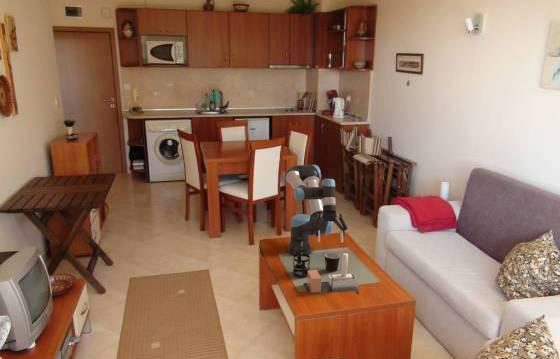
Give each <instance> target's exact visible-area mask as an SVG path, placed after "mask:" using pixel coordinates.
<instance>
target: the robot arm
mask: <svg viewBox="0 0 560 359" xmlns="http://www.w3.org/2000/svg"><path fill="white" fill-rule="evenodd" d="M284 178H285V181H286V182H287V184H290V186H291V187H292V188H293V198H294V200H296V201H306V200H307V201H308V203H309V207H310V212H311V214H310V215H309V214H307V213H305V214H304V213H300V214H296V215H293V216H292V217H291V219H290V225H289V226H290V239H289V243H288V245H287V253H288V252H289V253H288V254H290V255H292V256H294V255H296V254H295V253H294V247H296V246H307V247H309V248H310V250H309V253H306V252H302V254H307V255H310V254H311V253H312V246H311V243H310V236H315V237H317V243H320V242H321V236H325V235H330V234H331V233H332V232H333V225H334V224H335V225H336V226H337V227H338V229H339V230H340V231H339V234H340V236H339V237H340V238H339V239H340V244H341V243H344V237H345V234H346V233H345V231H347V230H348V229H349V228H348V226H347V224H346V222H345V221H344V219H343V215H342V213H337V206H336V204H337V202H336V201H337V200H336V181H335V179H333V178H324V179H322V174H321V169H320V167H319V166H318V164H317V165H316V164H296V165H292V166H290V167H289V168H288V169H287V170H286V171H285V173H284ZM321 180H322V181H321ZM320 182H321V186H319V183H320ZM339 221H340V222H339ZM300 237H304V238H306V240H303V242H301V240H299V239H298V238H300Z"/></svg>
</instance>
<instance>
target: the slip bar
mask: <svg viewBox="0 0 560 359" xmlns="http://www.w3.org/2000/svg"><path fill="white" fill-rule="evenodd" d="M348 265H349V254H348V253H346V252H345V253H344V252H343V253H342V256H341V273H339V274H328V276H327V282H328V283H329V285H331V286H332V280H347V279H353V277H352V275H351V274H352V273H348V267H349V266H348Z"/></svg>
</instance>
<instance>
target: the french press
mask: <svg viewBox="0 0 560 359" xmlns="http://www.w3.org/2000/svg"><path fill="white" fill-rule="evenodd" d="M298 239H299V240H301V242H303V240H306V238H304V237H300V238H298ZM309 250H310V248H309V247H307V246H296V247H294V253H295V254H296V255H293V263H292V264H293V265H292V268H293V269H292V270H293V271H292V275H293V277H295V278H298V279H306V278H307V274H308V270H310V261H311V257H310V254H308V255H307V254H302V252H306V253H309ZM303 257H305V258H307V259H303ZM300 272H301V274H298V273H300Z"/></svg>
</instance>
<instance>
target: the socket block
mask: <svg viewBox="0 0 560 359" xmlns="http://www.w3.org/2000/svg"><path fill="white" fill-rule="evenodd" d="M306 274H307V277H306V278H307V280H306V281H307V282H306V283H307V284H308V287H309V289H310V291H311V293H317V292H321V282H322V276H321V275H320V273H319V271H318V269H311V270H310V269H309V270H308V273H306Z"/></svg>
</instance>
